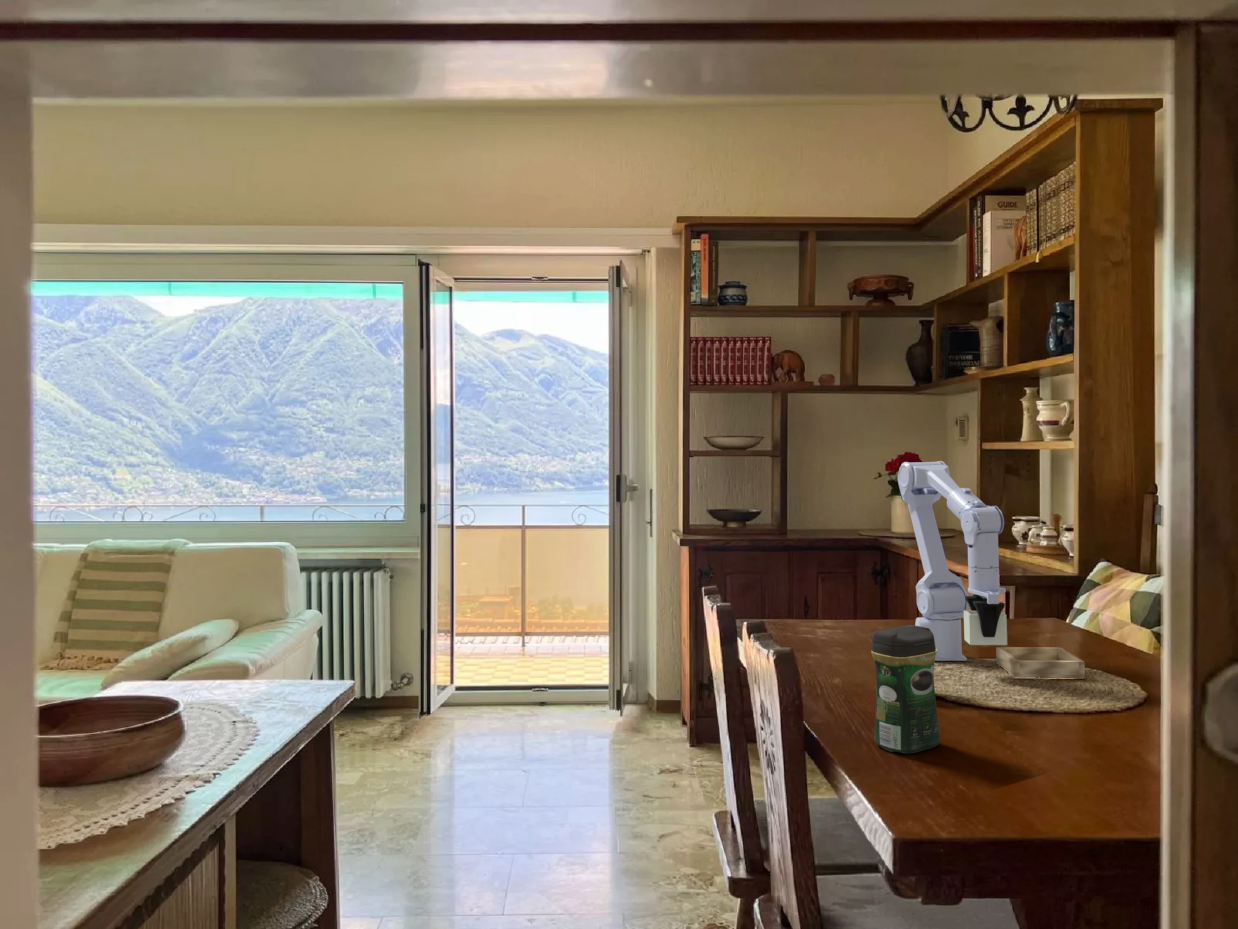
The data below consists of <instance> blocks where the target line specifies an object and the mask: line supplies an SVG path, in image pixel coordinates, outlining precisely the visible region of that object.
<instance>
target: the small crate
mask: <svg viewBox="0 0 1238 929" xmlns="http://www.w3.org/2000/svg"><path fill="white" fill-rule="evenodd" d="M1007 620H1008V618H1007V614H1006V613H1004V612H1003V611H1002V612H1001V614H1000V617H999V620H998V624H997V629H996V634H995V637H983V635H982V631H981V626H980V620H979V616H978V612H977V611H971V610H967V611H964V618H963V630H964V631H963V632H964V633H963V634H964V635H963V636H964V638H963V639H964V641H965V642H966V643H967V644H969V645H970V646H1008V630H1007V628H1008V627H1007V626H1008V623H1007Z"/></svg>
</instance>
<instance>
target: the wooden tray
mask: <svg viewBox="0 0 1238 929" xmlns="http://www.w3.org/2000/svg"><path fill="white" fill-rule="evenodd" d="M995 651H996V652H995V654H996V655H995V656H996V658H995V659H996V664H997V663H998V664H999V665H1000V666H1001V667H1003V668H1004V669H1005V670H1007V671H1008V672H1009V673H1010V674H1011V675H1012V676H1013V677H1036V678H1039V677H1040V678H1074V679H1075V678H1076V679H1082V678H1083V679H1084V678H1085V676H1086V673H1085V672H1086V671H1085V667H1086V666H1085V660H1084V661H1083V660H1082V659H1080V658H1079V657H1077V656H1076V655H1074V654H1073V653H1071V652H1069V651H1068V650H1066V649H1064V648H1063V647H1058V646H1057V647H1056V646H1055V647H1049V646H1048V647H1047V646H1046V647H1044V646H1043V647H1042V646H1041V647H1037V646H1036V647H1035V646H1030V647H1028V646H1027V647H1025V646H1023V647H1022V646H1021V647H1019V646H1018V647H1017V646H1016V647H1012V646H1010V647H1009V646H1005V647H1004V646H996V647H995ZM998 664H997V665H998ZM999 665H998V666H999ZM1000 666H999V667H1000ZM1001 667H1000V668H1001ZM1005 670H1004V671H1005ZM1013 677H1012V678H1013ZM1085 679H1086V678H1085Z"/></svg>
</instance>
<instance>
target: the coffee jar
mask: <svg viewBox="0 0 1238 929" xmlns="http://www.w3.org/2000/svg"><path fill="white" fill-rule="evenodd" d="M871 635H872V636H871V651H870V652H871V655H872V656H871V657H872V660H873V662H874V665H875V676H876V677H875V678H876V679H875V680H876V681H875V682H876V685H875V712H874V742H875V743H876V745H878V746H879V747H881V749H884V750H885V751H889V752H890V753H891V752H892V753H894V752H897V753H901V754H915V753H919V752H922V751H923V752H924V751H926V750H927V751H928V750H930V749H933V748H935V747H937V746H938V745H939V744H940V743H941V742H940V741H941V740H940V728H939V727H940V725H939V724H940V723H939V718H938V717H939V716H938V711H937V710H938V709H937V701H936V689H935V679H934V678H935V677H934V669H935V667H934V666H935V656H936V647H935V641H934V635H933V633H932V632H931V630H930V629H929V628H926V627H921V626H915V625H914V624H908V625H899V626H896V627H890V628H885V629H877V630H876V631H874V632H873V633H872V634H871Z"/></svg>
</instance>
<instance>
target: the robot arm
mask: <svg viewBox="0 0 1238 929" xmlns="http://www.w3.org/2000/svg"><path fill="white" fill-rule="evenodd" d="M950 473H951V472H950V467H949V466H948V465H947V464H946V463H945V461H942V460H937V461H922V462H920V461H919V462H918V461H917V462H916V461H915V462H908V461H904V462H902V463H901V465H900V467H899V470H898V474H897V483H898V488H899V491H900V495H901V497H902V498H901V499H902V501H903V502H904V503H906V504H907V508H908V511H909V515H910V519H911V523H912V524H911V525H912V527H913V531H914V535H915V536H914V537H915V540H916V542H917V543H916V544H917V547H918V548H917V549H918V551H919V555H920V556H919V557H920V560H921V564H922V568H923V572H924V575H923V577H922V578H921V579H920V580H918V582H917V584H916V585H915V591H916V605H917V608H918V611H919V612H920V613H921V615H922V616H921V617H916V618H915V626H921V627H926V628H929V629H930V630H931V632H932V633H933V635H934V641H935V647H936V649H937V653H936V656H935V661H936V662H938V661H940V662H946V661H948V662H951V661H953V662H960V661H961V662H966V661H968V658H967V657H966V656H965V655H964V654H963V653H962V652H963V650H962V648H963V646H962V619H964V611H969V609H970V611H977V612H978V616H979V620H980V626H981V631H982V635H983V637H995V634H996V629H997V624H998V620H999V617H1000V614H1001V612H1003V610H1004V608H1005V606H1006V603H1004V602H1000V594H1001V593H1006V591H1007V590H1006V588H1005V587H1000V560H999V555H1000V554H999V535H1000V534H1002V532H1003V530H1004V526H1005V519H1004V515H1003V512H1002V510H1001V509H1000V508H999V507H998V506H997V505H991V506H990V505H986V504H985V502H983V501H982V500H981V499H980V498H979V497H978V496H977V495H976V494H975V493H973V491H972V489H970V487H959V485H958V484H957V483H956V482H955V481H954V479H953V478H952V477H951V474H950ZM941 497H943V498H944V499H945V500H946V507H947V508H948V509H949V510H950V511H951V513H953V514H954V515H955V516H956V517H957V518H958V519H959V521H960V527H961V530H962V532H963V535H964V542H965V544H966V545H967V568H968V569H967V570H968V572H967V573H968V587H967V590H966V588H965V586H964V585H963V584H964V583H963V580H962V578H960V576H958V575H956V574H954V573H953V572H951V571H950V570H949V566H948V561H947V558H946V554H945V551H944V547H943V542H942V540H941V539H942V538H941V535H940V531H939V528H938V524H937V520H936V516H935V512H934V508H933V505H934V503H935V502H937V501H940V499H941ZM969 594H972V595H969ZM935 661H934V662H935Z"/></svg>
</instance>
